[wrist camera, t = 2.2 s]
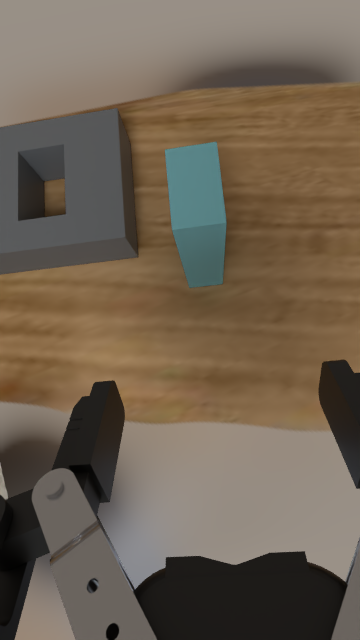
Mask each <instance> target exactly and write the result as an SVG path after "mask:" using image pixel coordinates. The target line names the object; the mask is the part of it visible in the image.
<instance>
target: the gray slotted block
mask: <svg viewBox="0 0 360 640" xmlns="http://www.w3.org/2000/svg"><path fill="white" fill-rule="evenodd" d="M62 178H65V202H66V214H65V215H57V216H50V217H44V181H49V180H56V179H62ZM136 257H138V248H137V233H136V219H135V204H134V189H133V174H132V160H131V145H130V141H129V139H128V136H127V133H126V130H125V128H124V125H123V122H122V120H121V117H120V114H119V111H118V109H117V108H115V109H109V110H103V111H97V112H91V113H85V114H79V115H73V116H67V117H61V118H55V119H49V120H43V121H37V122H31V123H25V124H19V125H13V126H7V127H1V128H0V274H7V273H16V272H24V271H32V270H40V269H48V268H56V267H64V266H72V265H80V264H88V263H96V262H104V261H112V260H120V259H128V258H136Z"/></svg>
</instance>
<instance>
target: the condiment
mask: <svg viewBox="0 0 360 640" xmlns="http://www.w3.org/2000/svg"><path fill="white" fill-rule="evenodd" d="M0 495H1V496H3V498H4V499H5V500H6V499H8V494H7V490H6V488H5V482H4V477H3V474H2V469H1V464H0Z"/></svg>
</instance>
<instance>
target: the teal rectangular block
mask: <svg viewBox="0 0 360 640" xmlns="http://www.w3.org/2000/svg"><path fill="white" fill-rule="evenodd" d="M165 156H166V168H167V179H168V190H169V201H170V212H171V224H172V231H173V235H174V238H175V241H176V245H177V248H178V251H179V255H180V258H181V261H182V265H183V268H184V271H185V275H186V278H187V281H188V285H189V288H193V287H201V286H210V285H219V284H223V271H224V255H225V239H226V214H225V206H224V198H223V190H222V181H221V173H220V165H219V157H218V149H217V142H212V143H205V144H199V145H192V146H186V147H179V148H173V149H166V150H165Z"/></svg>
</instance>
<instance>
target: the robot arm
mask: <svg viewBox="0 0 360 640" xmlns="http://www.w3.org/2000/svg"><path fill="white" fill-rule="evenodd" d="M319 400H320V404H321V407H322V409H323V411H324V414H325V416H326V418H327V421H328V423H329V425H330V428H331V430H332V432H333V435H334V437H335V439H336V442H337V444H338V446H339V449H340V451H341V453H342V456H343V458H344V460H345V463H346V465H347V467H348V470H349V472H350V474H351V477H352V479H353V481H354V484H355V486H356V488H357V489H358V488H360V373H354V372H353V371H352V369H351V367H350V366H349V364H348V362H347V361H346V360H336V361H326V362H323V363H322V368H321V376H320V383H319ZM124 420H125V412H124V406H123V403H122V400H121V397H120V394H119V391H118V389H117V386H116V383H115V381H103V382H95V383H94V384H93V387H92V390H91V393H90V396H84V397H82V398H81V399H80V400H79V402H78V403H77V404H76V405H75V406H74V408H73V411H72V414H71V417H70V421H69V423H68V425H67V428H66V431H65V434H64V437H63V440H62V443H61V445H60V448H59V451H58V454H57V457H56V460H55V462H54V465H53V468H52V470H51V471H50V472H48V473H47V474H46V475H44V476H43V477H42V478H41V479H40V480H39V481H38V482H37V484H36V485H35V487H34V488H33V489H31V490H29V491H27V492H24V493H21V494H19V495H16V496H14V497H11V498H8V499H6V500H5V499H4V498H3V496H1V495H0V640H14V639H15V635H16V632H17V628H18V624H19V620H20V617H21V613H22V610H23V606H24V602H25V598H26V595H27V591H28V587H29V583H30V580H31V576H32V572H33V568H34V565H35V561H36V558H38V557H41V556H43V555H45V554H47V553H51V559H50V566H51V569H52V573H53V575H54V578H55V581H56V584H57V587H58V590H59V593H60V596H61V599H62V602H63V605H64V607H65V610H66V613H67V616H68V619H69V622H70V625H71V627H72V631H73V633H74V636H75V639H76V640H360V538H359V541H358V544H357V548H356V550H355V554H354V557H353V560H352V562H351V565H350V568H349V572H348V575H347V578H346V581H343V580H342V579H341V578H340V577H338V576H337V575H335V574H334V573H332V572H331V571H328V570H327V569H325V568H323V567H321V566H318V565H316V564H313V563H309V562H307V559H306V555H305V552H280V553H268V554H265V555H263V556H260V557H257V558H255V559H252V560H249V561H246V562H243V563H241V564H238V565H231V564H228V563H224V562H220V561H216V560H212V559H209V558H205V557H201V556H188V557H167V558H166V568H164V569H161V570H159V571H157V572H155V573H153V574H152V575H151V576H149V577H148V578H146V579H145V580H144V581H143V582H142V583H141V584H140V585H139V586H138V587H137V588H135V587H134V585H133V583H132V581H131V579H130V577H129V575H128V573H127V572H126V570H125V568H124V566H123V564H122V562H121V560H120V558H119V556H118V554H117V553H116V551H115V549H114V547H113V545H112V543H111V541H110V539H109V537H108V535H107V533H106V531H105V529H104V527H103V525H102V523H101V521H100V519H99V518H98V516H97V513H98V508H99V504H100V503H104V502H110V497H111V492H112V486H113V481H114V475H115V469H116V464H117V459H118V453H119V448H120V442H121V437H122V432H123V426H124Z"/></svg>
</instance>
